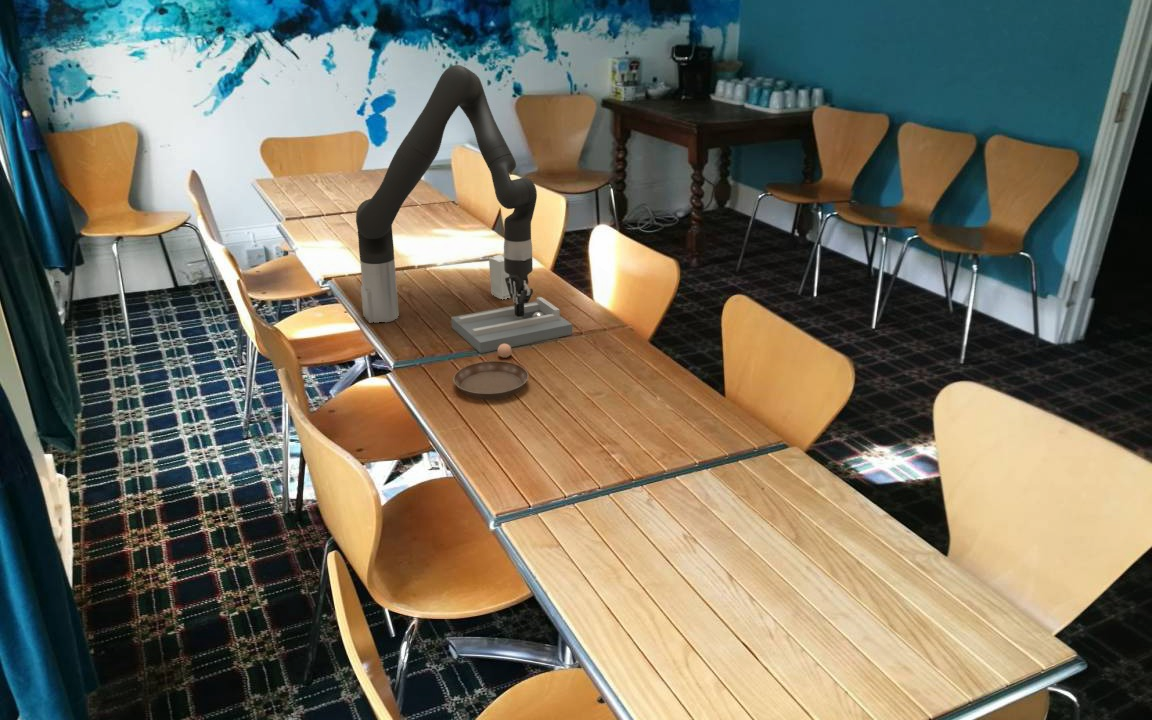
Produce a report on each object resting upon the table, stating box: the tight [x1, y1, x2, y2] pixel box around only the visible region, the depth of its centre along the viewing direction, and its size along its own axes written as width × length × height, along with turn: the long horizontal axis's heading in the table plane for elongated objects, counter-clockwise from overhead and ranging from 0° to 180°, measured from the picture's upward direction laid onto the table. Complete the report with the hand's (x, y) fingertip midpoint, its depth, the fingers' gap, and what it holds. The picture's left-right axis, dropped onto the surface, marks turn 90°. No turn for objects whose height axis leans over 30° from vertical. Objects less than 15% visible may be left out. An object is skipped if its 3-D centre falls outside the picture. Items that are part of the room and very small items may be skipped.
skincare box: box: [488, 254, 512, 301], centre depth 263 cm, size 6×4×12 cm
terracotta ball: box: [496, 344, 513, 359], centre depth 224 cm, size 4×4×4 cm
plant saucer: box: [452, 360, 529, 401], centre depth 209 cm, size 18×18×3 cm
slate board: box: [450, 296, 573, 354], centre depth 240 cm, size 27×20×6 cm
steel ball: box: [532, 312, 544, 318], centre depth 244 cm, size 4×4×4 cm
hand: (519, 315), depth 240 cm, fingers closed
